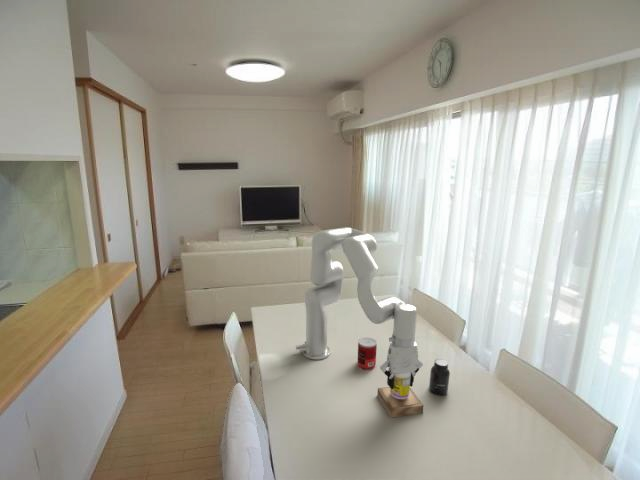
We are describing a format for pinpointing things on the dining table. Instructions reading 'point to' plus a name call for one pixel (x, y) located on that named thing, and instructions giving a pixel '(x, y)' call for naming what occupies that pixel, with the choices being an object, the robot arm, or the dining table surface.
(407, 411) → the bronze plinth
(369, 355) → the canned food
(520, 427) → the dining table surface
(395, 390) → the supplement bottle
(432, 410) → the dining table surface
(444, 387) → the supplement bottle
